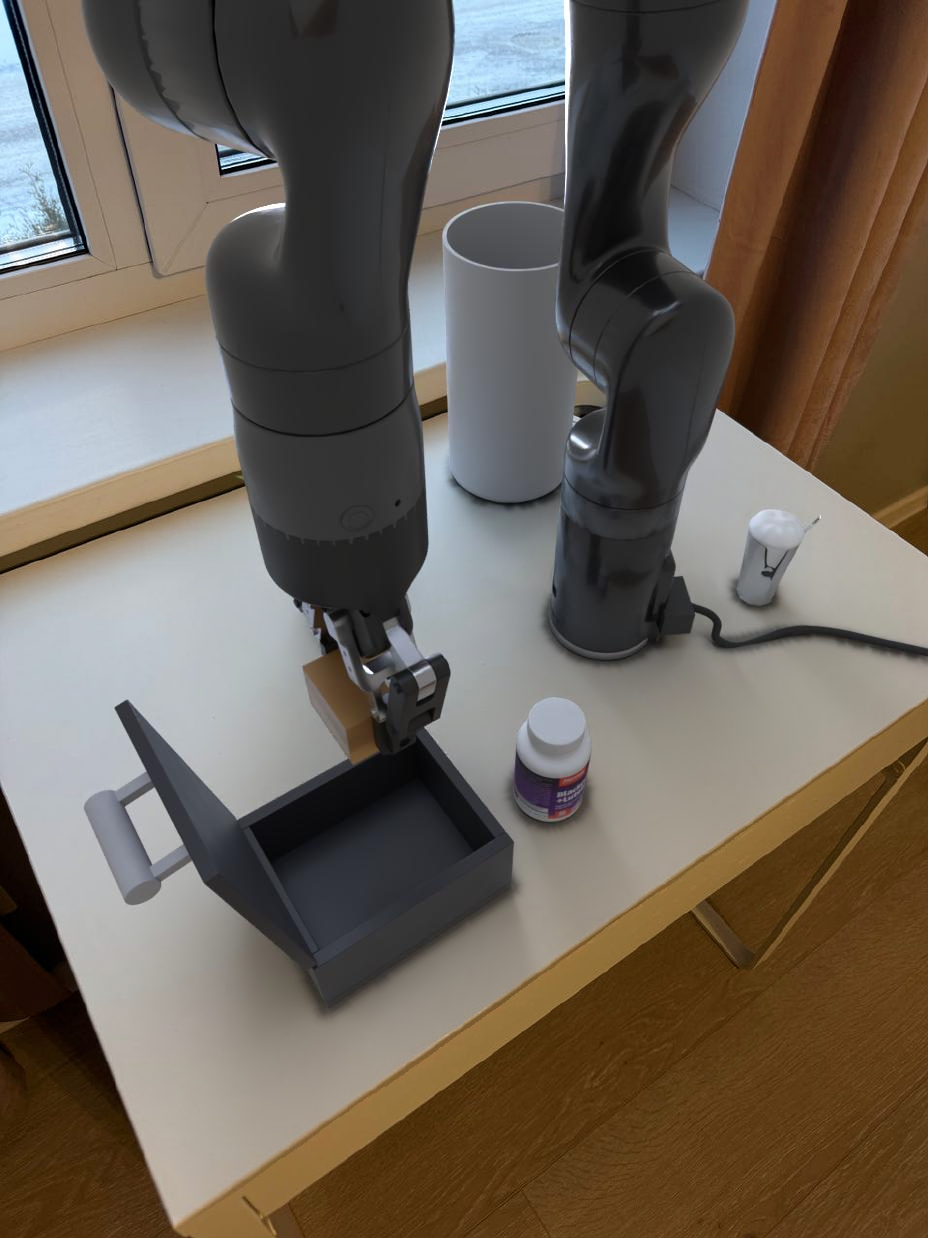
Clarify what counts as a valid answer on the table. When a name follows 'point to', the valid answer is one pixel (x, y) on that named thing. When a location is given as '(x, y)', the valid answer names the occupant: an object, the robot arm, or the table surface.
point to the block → (342, 704)
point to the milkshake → (768, 554)
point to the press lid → (188, 840)
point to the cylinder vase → (506, 351)
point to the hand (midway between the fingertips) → (370, 708)
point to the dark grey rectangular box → (379, 859)
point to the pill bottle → (552, 760)
